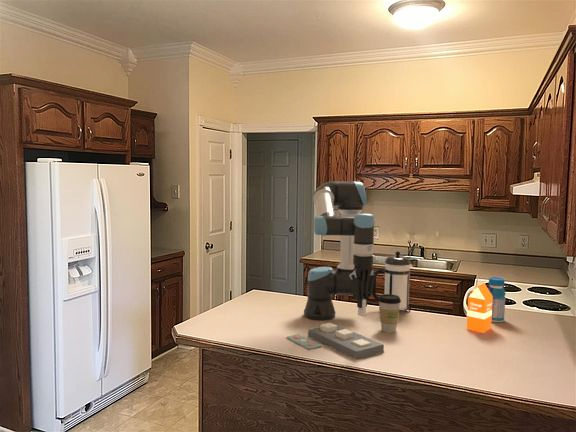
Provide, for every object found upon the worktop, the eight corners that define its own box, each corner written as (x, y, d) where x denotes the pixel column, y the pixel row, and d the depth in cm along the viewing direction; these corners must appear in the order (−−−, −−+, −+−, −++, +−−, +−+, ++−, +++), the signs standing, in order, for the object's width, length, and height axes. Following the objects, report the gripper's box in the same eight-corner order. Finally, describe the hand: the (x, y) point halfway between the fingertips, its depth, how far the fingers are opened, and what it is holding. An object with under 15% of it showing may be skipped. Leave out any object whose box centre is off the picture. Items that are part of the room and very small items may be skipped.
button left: (320, 332, 202) (320, 324, 202) (329, 330, 205) (329, 322, 204) (327, 336, 198) (327, 327, 197) (337, 333, 200) (337, 325, 200)
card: (286, 338, 199) (286, 336, 199) (298, 335, 202) (298, 333, 202) (309, 349, 186) (309, 347, 186) (321, 347, 189) (321, 345, 189)
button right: (351, 350, 185) (352, 341, 185) (361, 347, 188) (361, 338, 188) (360, 354, 181) (360, 345, 181) (370, 351, 184) (370, 342, 184)
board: (308, 336, 202) (308, 329, 201) (334, 330, 209) (334, 323, 209) (356, 359, 177) (356, 351, 176) (383, 352, 184) (383, 344, 184)
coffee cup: (400, 334, 205) (401, 300, 204) (377, 332, 207) (377, 298, 206) (399, 327, 215) (400, 294, 213) (377, 325, 217) (378, 293, 215)
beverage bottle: (499, 323, 222) (501, 281, 220) (481, 319, 228) (483, 278, 226) (507, 320, 227) (509, 278, 225) (490, 316, 233) (492, 275, 232)
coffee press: (390, 304, 254) (391, 247, 251) (416, 310, 243) (418, 251, 240) (370, 310, 242) (372, 251, 239) (398, 317, 230) (399, 255, 228)
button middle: (335, 339, 194) (335, 331, 193) (345, 337, 196) (345, 328, 196) (343, 343, 189) (343, 334, 189) (353, 340, 192) (353, 332, 192)
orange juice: (466, 328, 214) (468, 284, 212) (474, 324, 220) (476, 281, 218) (484, 332, 208) (486, 287, 207) (491, 328, 215) (493, 284, 213)
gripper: (357, 257, 175) (355, 320, 177) (382, 254, 182) (381, 315, 184) (343, 254, 181) (342, 315, 183) (369, 251, 188) (367, 310, 190)
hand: (361, 315), depth 184 cm, fingers closed
